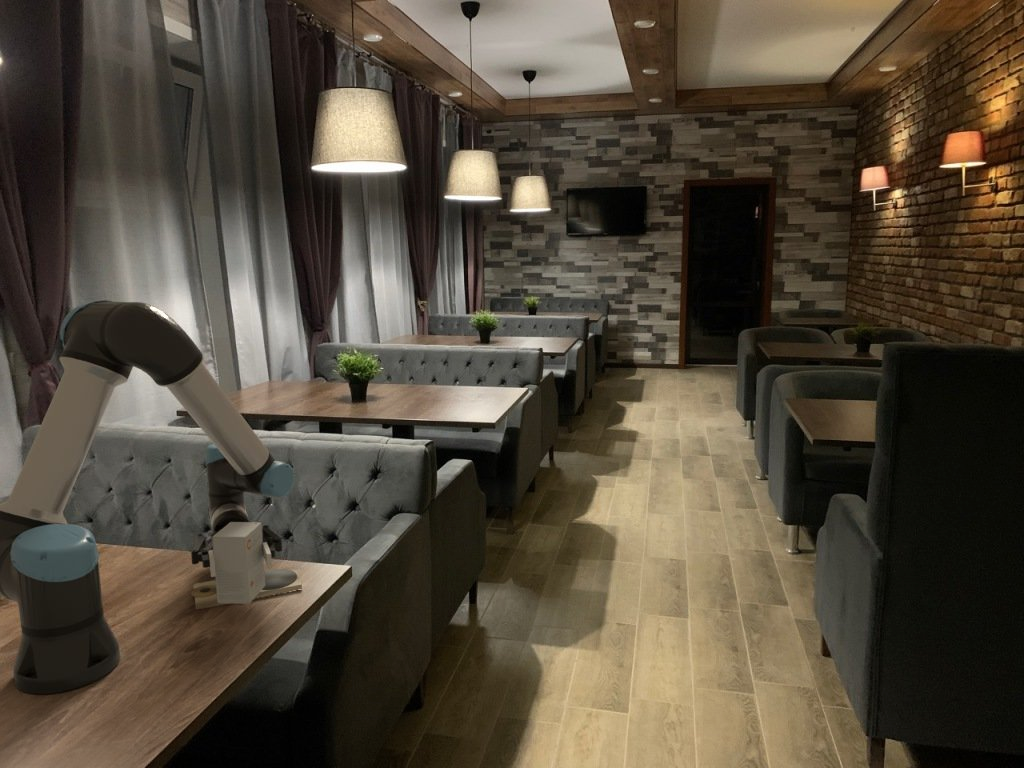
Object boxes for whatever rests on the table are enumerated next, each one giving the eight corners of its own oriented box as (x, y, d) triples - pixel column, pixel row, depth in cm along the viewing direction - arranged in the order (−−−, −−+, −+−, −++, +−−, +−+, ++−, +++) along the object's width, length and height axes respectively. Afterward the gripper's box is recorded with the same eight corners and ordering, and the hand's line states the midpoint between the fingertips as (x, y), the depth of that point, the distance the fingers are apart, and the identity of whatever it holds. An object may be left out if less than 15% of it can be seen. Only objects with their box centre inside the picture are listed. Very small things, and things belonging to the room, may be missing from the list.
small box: (234, 585, 148) (230, 521, 146) (266, 586, 148) (262, 521, 146) (215, 603, 140) (211, 536, 138) (249, 604, 140) (245, 536, 138)
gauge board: (302, 590, 155) (301, 582, 154) (193, 610, 146) (192, 602, 146) (294, 571, 164) (293, 564, 163) (191, 589, 155) (190, 582, 155)
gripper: (285, 536, 164) (303, 574, 144) (175, 552, 155) (178, 595, 135) (284, 502, 163) (301, 536, 142) (173, 516, 154) (175, 555, 133)
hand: (241, 565), depth 139 cm, fingers closed on small box, 9 cm apart
